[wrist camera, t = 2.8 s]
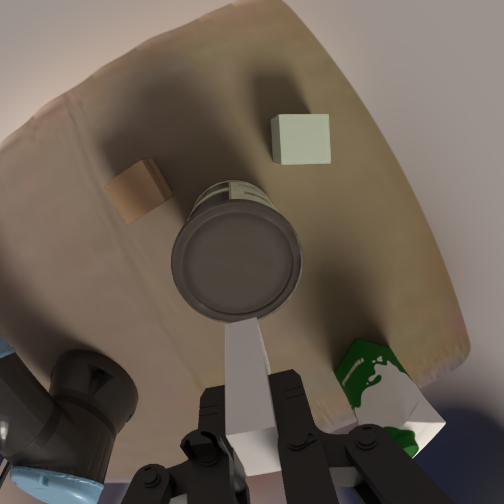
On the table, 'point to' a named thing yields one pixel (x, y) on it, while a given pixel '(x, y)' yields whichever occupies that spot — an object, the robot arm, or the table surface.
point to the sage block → (300, 139)
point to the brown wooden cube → (138, 190)
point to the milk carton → (387, 396)
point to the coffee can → (236, 254)
